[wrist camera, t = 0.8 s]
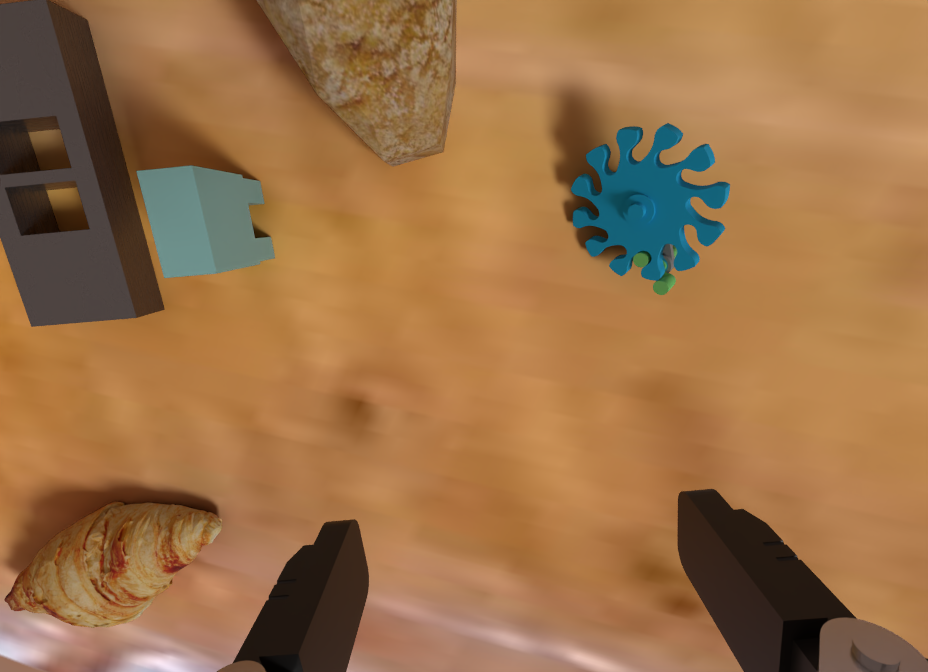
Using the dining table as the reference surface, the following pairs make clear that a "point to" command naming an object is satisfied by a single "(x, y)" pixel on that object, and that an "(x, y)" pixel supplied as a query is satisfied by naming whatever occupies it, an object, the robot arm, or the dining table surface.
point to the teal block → (203, 220)
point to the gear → (649, 206)
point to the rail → (66, 176)
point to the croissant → (112, 562)
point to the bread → (377, 66)
